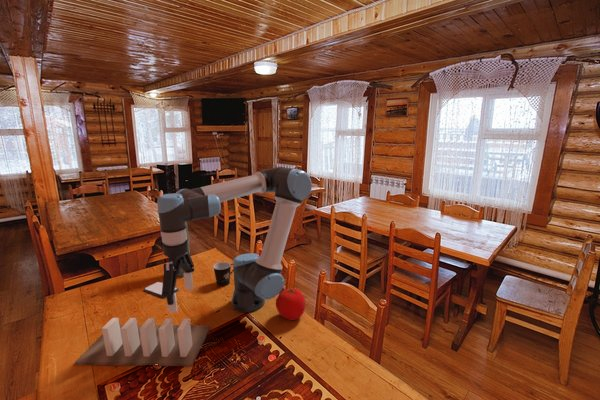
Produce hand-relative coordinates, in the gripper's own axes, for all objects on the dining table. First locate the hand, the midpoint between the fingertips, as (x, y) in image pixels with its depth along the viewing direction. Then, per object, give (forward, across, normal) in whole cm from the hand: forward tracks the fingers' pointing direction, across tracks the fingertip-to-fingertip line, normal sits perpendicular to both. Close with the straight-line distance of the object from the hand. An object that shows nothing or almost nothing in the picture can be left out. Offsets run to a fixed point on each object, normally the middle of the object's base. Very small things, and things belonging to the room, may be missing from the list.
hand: (181, 299), depth 103 cm
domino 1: (+20, 0, -26) cm, 33 cm away
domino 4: (+20, 0, -7) cm, 21 cm away
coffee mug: (+22, -50, +1) cm, 54 cm away
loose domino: (+20, 0, 0) cm, 20 cm away
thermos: (+22, -60, -25) cm, 68 cm away
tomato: (+22, -22, +36) cm, 47 cm away
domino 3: (+20, 0, -13) cm, 24 cm away
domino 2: (+20, 0, -20) cm, 28 cm away
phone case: (+22, -42, -30) cm, 56 cm away
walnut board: (+21, -4, -16) cm, 27 cm away
